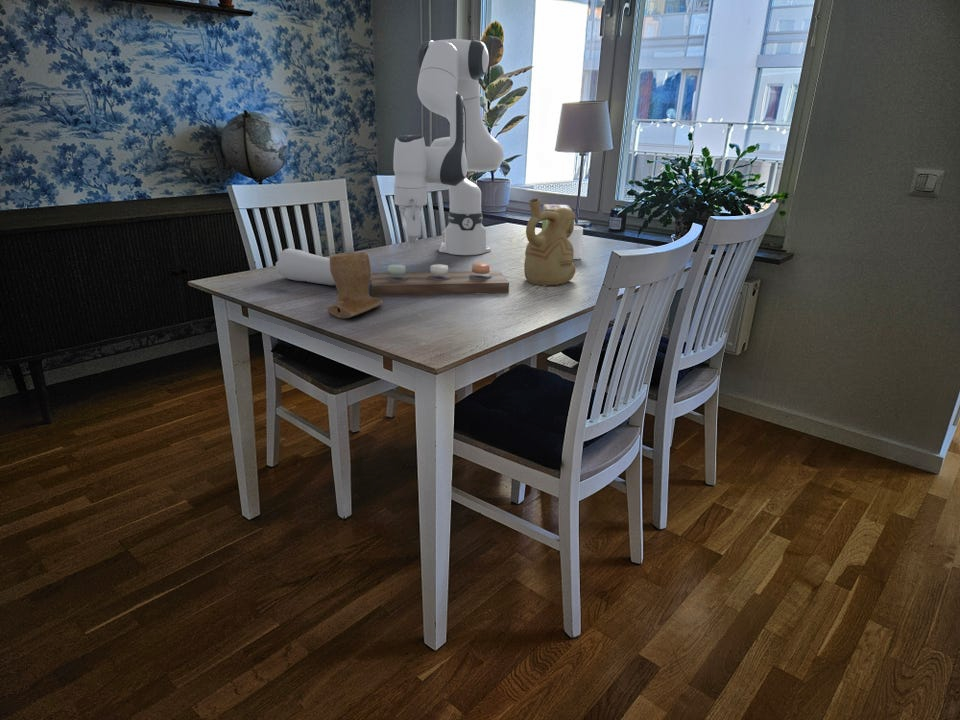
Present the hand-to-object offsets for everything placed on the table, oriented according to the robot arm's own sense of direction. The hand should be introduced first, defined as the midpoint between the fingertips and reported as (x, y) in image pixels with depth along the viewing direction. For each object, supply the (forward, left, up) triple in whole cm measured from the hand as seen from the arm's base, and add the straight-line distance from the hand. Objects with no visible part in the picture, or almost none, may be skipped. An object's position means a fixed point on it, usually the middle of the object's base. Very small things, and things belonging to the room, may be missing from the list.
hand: (411, 248), depth 174 cm
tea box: (-58, +58, -12) cm, 82 cm away
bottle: (-7, -25, -12) cm, 29 cm away
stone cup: (+19, -16, -12) cm, 28 cm away
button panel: (-1, +8, -12) cm, 14 cm away
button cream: (-1, +8, -7) cm, 11 cm away
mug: (-35, +56, -12) cm, 67 cm away
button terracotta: (-1, +20, -7) cm, 21 cm away
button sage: (-1, -4, -7) cm, 8 cm away
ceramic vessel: (-6, +41, -12) cm, 43 cm away
